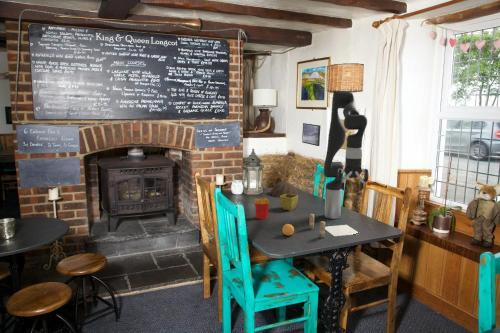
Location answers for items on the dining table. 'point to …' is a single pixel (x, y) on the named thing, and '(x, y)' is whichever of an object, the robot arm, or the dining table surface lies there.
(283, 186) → the decorative dome
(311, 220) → the left post
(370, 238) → the dining table surface
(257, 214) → the french fries
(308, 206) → the dining table surface
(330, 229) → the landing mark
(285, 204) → the flower pot
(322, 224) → the right post
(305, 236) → the dining table surface
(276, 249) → the dining table surface
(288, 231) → the ball
